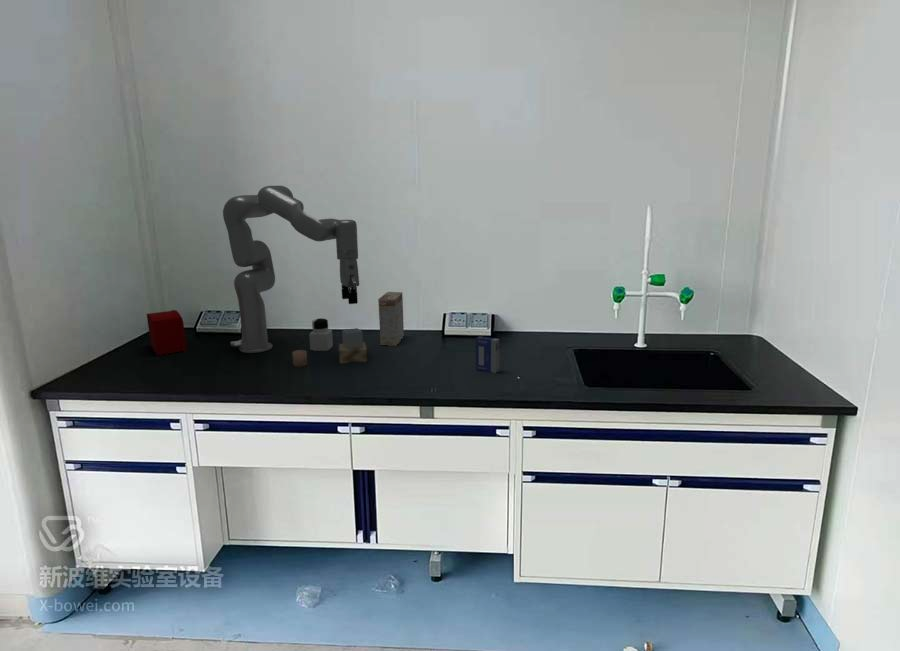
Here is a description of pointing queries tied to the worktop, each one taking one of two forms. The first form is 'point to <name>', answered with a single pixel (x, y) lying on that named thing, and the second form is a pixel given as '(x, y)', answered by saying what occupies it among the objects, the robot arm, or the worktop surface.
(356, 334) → the grey cube
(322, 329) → the medicine bottle
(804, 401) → the worktop surface
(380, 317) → the coffeecake box
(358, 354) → the oak block
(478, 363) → the walkman
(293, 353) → the terracotta cylinder
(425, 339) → the worktop surface
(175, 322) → the fire alarm
